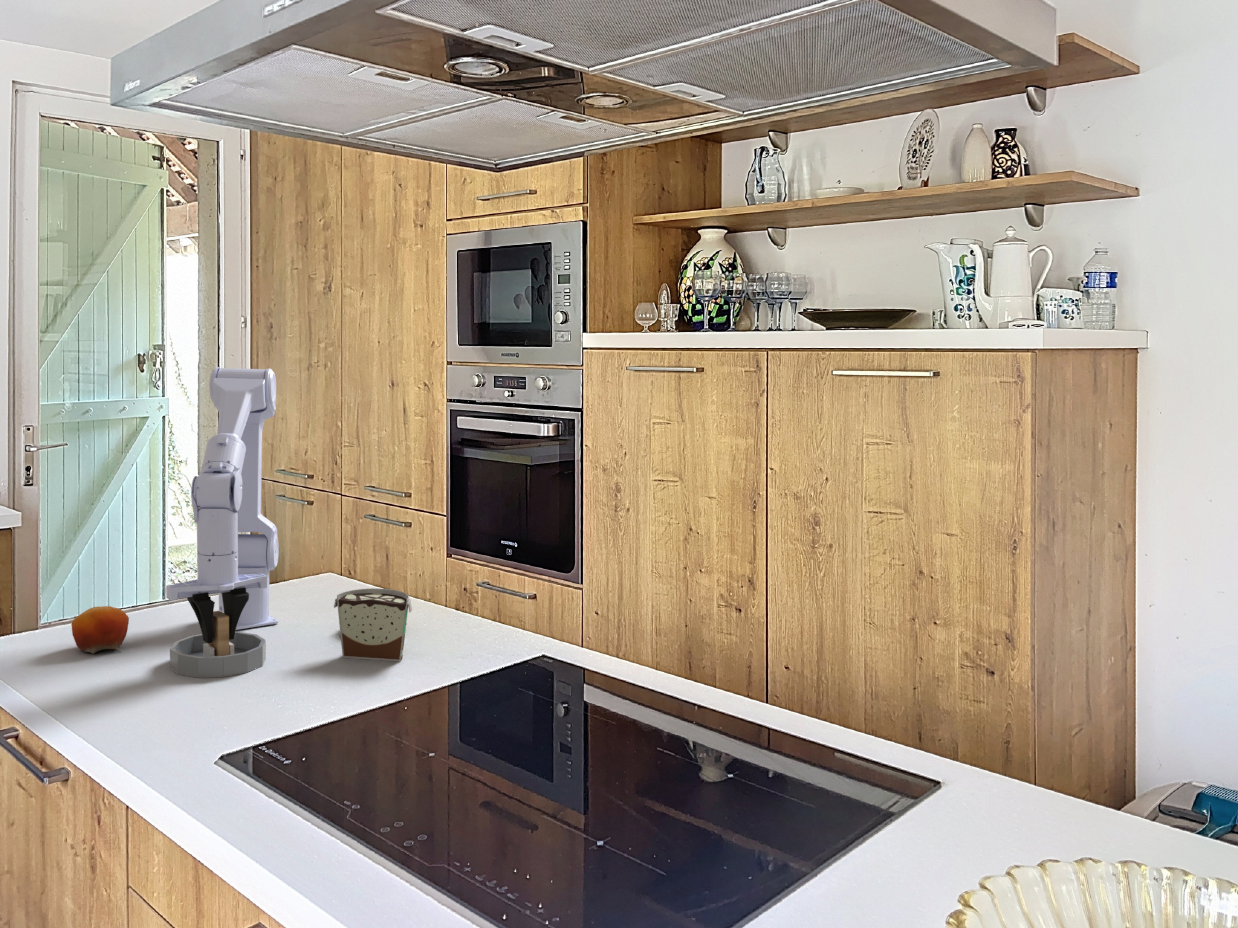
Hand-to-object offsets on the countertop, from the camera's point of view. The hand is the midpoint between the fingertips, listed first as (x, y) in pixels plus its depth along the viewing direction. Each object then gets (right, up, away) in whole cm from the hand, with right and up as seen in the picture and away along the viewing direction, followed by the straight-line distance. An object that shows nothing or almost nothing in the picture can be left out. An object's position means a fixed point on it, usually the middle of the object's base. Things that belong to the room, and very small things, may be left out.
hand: (218, 639), depth 160 cm
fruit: (-20, -3, +5) cm, 21 cm away
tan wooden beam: (0, -3, 0) cm, 3 cm away
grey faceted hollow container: (0, -4, +1) cm, 4 cm away
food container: (+22, -4, +8) cm, 24 cm away
